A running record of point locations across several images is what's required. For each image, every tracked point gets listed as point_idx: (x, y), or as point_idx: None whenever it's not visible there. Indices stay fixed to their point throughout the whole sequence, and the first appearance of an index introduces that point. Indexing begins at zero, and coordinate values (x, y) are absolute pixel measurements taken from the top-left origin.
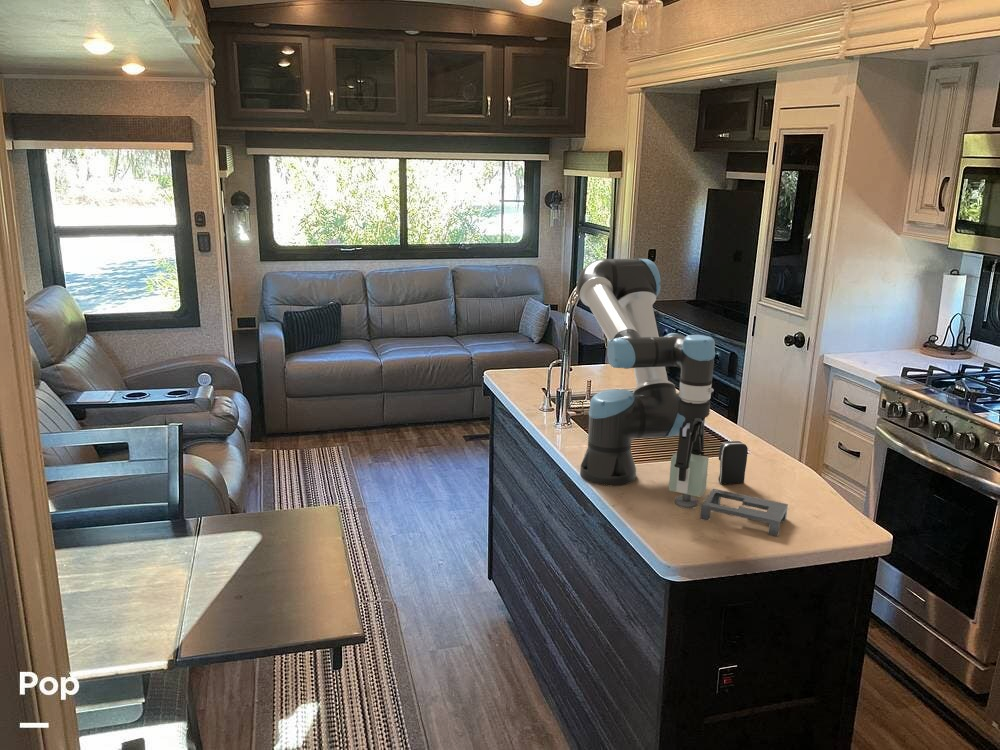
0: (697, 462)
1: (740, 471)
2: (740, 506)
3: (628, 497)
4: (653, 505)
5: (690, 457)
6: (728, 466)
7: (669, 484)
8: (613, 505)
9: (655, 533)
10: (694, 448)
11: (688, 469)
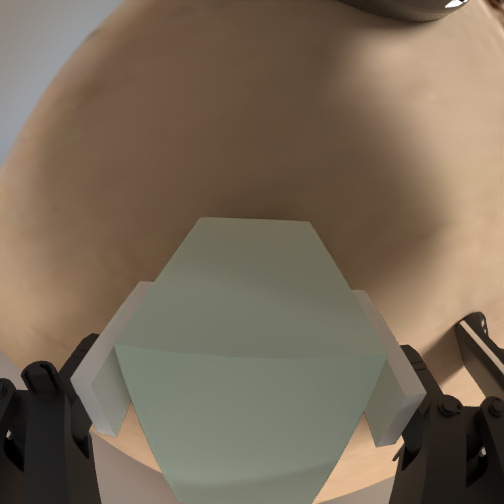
0: (171, 487)
1: (479, 382)
2: None
3: (190, 35)
4: (161, 153)
5: (239, 468)
6: (485, 375)
7: (193, 228)
8: (93, 33)
9: (5, 240)
10: (410, 472)
11: (98, 426)
